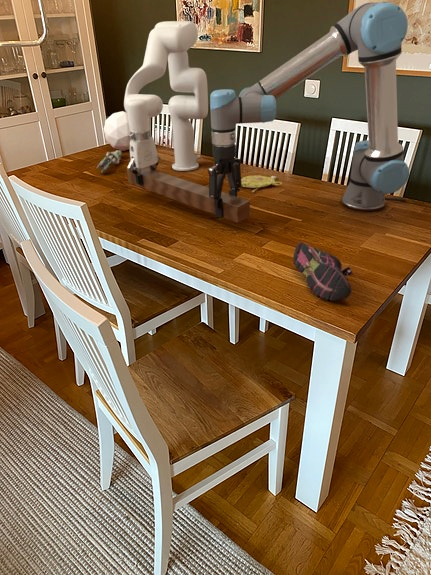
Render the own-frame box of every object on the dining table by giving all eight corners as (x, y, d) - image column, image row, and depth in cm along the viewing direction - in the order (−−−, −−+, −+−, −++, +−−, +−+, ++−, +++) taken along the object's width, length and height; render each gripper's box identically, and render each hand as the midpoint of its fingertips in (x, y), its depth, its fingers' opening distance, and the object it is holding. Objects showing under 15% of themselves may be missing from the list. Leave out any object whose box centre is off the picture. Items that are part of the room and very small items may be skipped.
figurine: (101, 154, 197) (119, 141, 223) (91, 167, 200) (110, 152, 227) (114, 165, 199) (130, 151, 225) (103, 178, 203) (121, 162, 229)
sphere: (117, 161, 243) (97, 129, 240) (149, 144, 245) (129, 111, 242) (115, 152, 224) (93, 117, 222) (149, 133, 226) (128, 98, 224)
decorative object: (249, 169, 197) (291, 174, 187) (250, 175, 198) (291, 179, 189) (226, 183, 183) (269, 189, 173) (226, 189, 184) (269, 195, 174)
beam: (128, 182, 177) (126, 169, 174) (140, 178, 180) (138, 165, 177) (237, 222, 144) (237, 207, 141) (249, 216, 148) (250, 200, 145)
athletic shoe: (338, 290, 105) (377, 282, 109) (296, 227, 116) (333, 222, 121) (320, 318, 113) (358, 309, 118) (283, 256, 125) (319, 251, 129)
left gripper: (128, 142, 156) (135, 190, 166) (164, 131, 166) (169, 177, 176) (115, 139, 160) (123, 186, 170) (151, 128, 171) (157, 173, 181)
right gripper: (211, 153, 130) (215, 225, 142) (252, 138, 141) (252, 206, 154) (193, 149, 134) (198, 219, 147) (234, 135, 146) (236, 201, 158)
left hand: (146, 181), depth 173 cm, fingers closed on beam, 6 cm apart
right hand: (226, 212), depth 150 cm, fingers closed on beam, 6 cm apart
